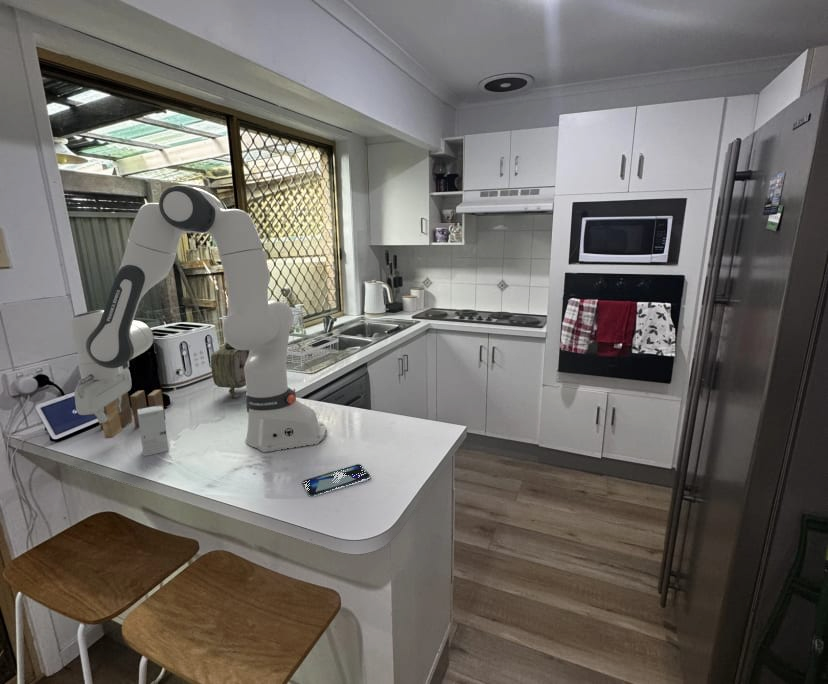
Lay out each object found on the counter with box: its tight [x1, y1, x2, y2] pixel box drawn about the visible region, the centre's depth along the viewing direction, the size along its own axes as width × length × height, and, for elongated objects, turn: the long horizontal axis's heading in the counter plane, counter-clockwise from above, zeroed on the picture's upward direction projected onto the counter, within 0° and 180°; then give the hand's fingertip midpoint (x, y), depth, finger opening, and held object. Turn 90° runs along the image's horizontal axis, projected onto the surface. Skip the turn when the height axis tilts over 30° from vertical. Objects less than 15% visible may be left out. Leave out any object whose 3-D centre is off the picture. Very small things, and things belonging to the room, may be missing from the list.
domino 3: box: [147, 389, 166, 420], centre depth 135 cm, size 2×5×10 cm, turn 7°
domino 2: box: [129, 389, 148, 426], centre depth 134 cm, size 2×5×10 cm, turn 7°
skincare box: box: [137, 405, 169, 457], centre depth 116 cm, size 6×4×12 cm
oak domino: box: [102, 399, 123, 439], centre depth 120 cm, size 2×5×10 cm, turn 7°
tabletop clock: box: [210, 340, 250, 399], centre depth 158 cm, size 14×9×25 cm, turn 170°
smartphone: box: [301, 463, 371, 497], centre depth 102 cm, size 7×1×15 cm
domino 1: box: [119, 391, 133, 428], centre depth 134 cm, size 2×5×10 cm, turn 7°
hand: (110, 417), depth 120 cm, fingers closed on oak domino, 5 cm apart
